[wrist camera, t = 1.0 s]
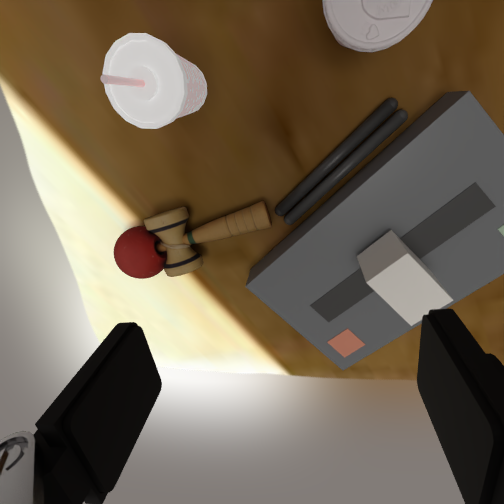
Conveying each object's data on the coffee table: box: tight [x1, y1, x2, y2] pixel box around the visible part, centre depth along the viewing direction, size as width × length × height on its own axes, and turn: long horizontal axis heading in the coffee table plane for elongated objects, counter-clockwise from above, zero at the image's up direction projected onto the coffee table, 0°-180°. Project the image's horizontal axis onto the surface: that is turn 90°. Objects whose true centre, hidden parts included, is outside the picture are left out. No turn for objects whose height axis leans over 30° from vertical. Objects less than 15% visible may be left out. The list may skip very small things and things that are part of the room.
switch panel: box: [246, 91, 504, 370], centre depth 32 cm, size 26×19×4 cm
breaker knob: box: [357, 230, 453, 326], centre depth 28 cm, size 4×6×5 cm, turn 47°
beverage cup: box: [101, 33, 207, 129], centre depth 24 cm, size 6×6×14 cm
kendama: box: [114, 201, 272, 279], centre depth 35 cm, size 8×6×18 cm
